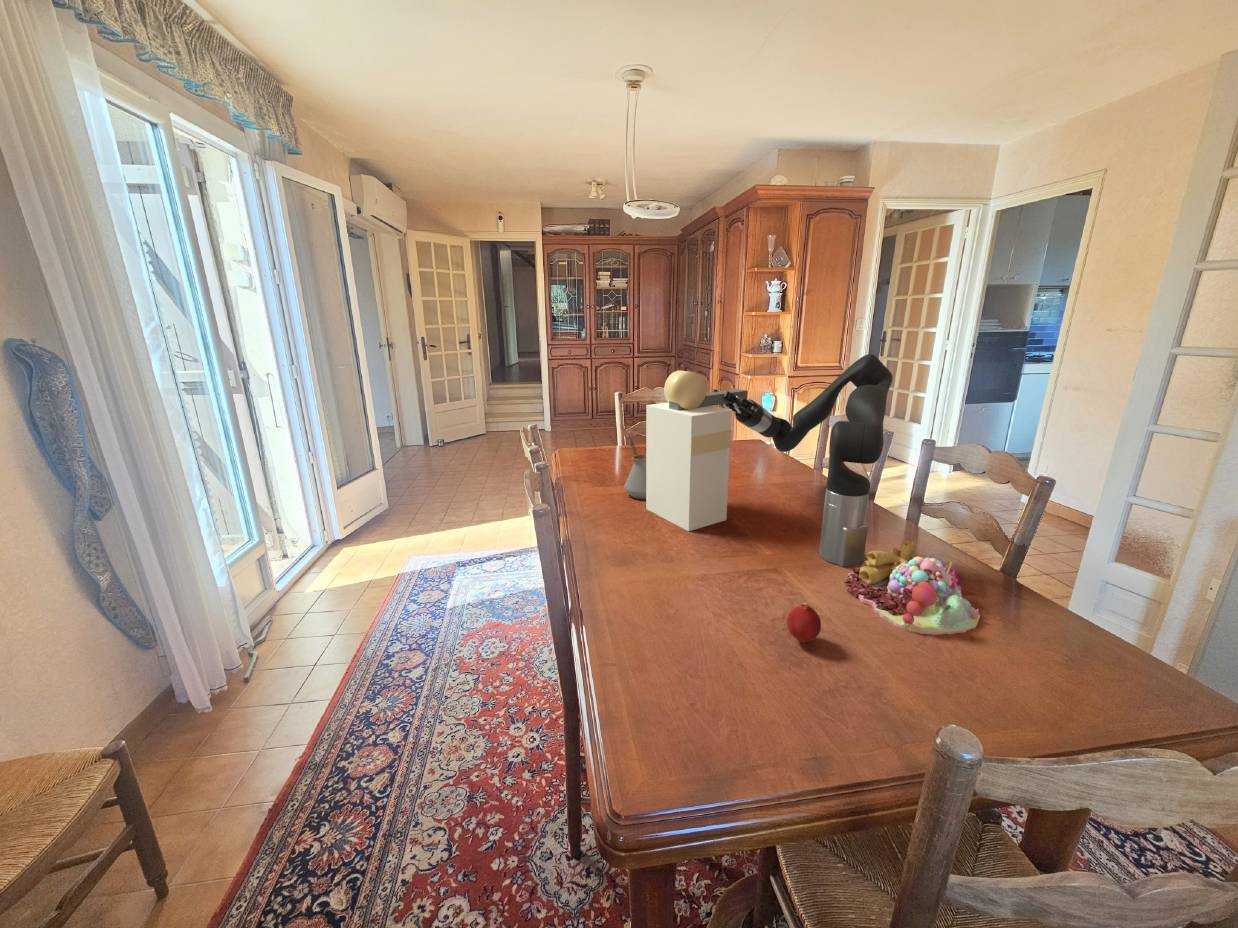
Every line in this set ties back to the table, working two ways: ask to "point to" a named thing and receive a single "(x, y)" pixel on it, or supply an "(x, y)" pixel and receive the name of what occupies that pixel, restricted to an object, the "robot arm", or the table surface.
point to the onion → (803, 623)
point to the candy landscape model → (913, 592)
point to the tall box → (688, 464)
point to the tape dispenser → (693, 392)
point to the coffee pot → (637, 476)
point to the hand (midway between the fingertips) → (719, 393)
